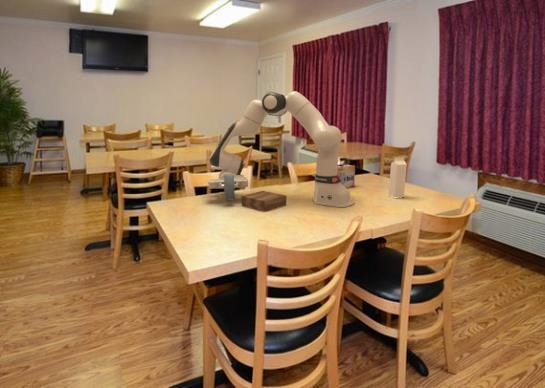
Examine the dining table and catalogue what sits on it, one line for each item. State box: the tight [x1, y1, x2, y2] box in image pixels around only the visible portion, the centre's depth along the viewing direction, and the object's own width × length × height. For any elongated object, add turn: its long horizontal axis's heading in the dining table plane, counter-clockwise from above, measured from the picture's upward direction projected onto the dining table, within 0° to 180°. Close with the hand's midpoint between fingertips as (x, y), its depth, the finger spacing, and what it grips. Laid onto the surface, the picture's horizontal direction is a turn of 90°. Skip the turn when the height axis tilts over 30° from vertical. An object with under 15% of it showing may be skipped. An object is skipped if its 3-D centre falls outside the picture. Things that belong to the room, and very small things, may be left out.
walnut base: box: [241, 190, 287, 213], centre depth 196 cm, size 16×16×5 cm
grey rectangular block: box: [223, 174, 236, 201], centre depth 195 cm, size 5×5×12 cm
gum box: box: [337, 163, 356, 188], centre depth 237 cm, size 24×8×14 cm, turn 123°
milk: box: [388, 157, 408, 197], centre depth 213 cm, size 6×6×22 cm
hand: (229, 186), depth 194 cm, fingers closed on grey rectangular block, 5 cm apart
